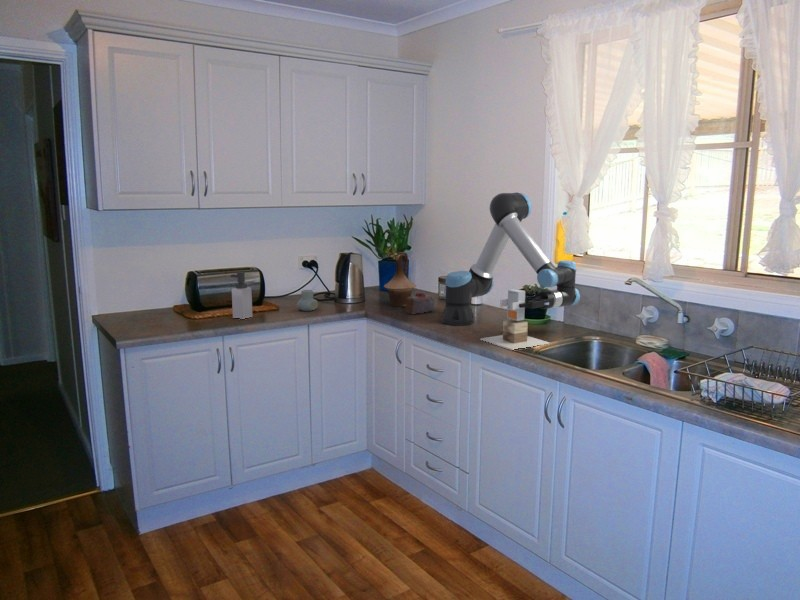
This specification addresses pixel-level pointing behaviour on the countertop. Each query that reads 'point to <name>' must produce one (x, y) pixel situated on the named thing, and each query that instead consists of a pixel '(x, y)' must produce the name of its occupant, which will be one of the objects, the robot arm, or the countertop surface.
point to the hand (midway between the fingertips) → (506, 304)
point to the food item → (419, 303)
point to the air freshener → (307, 301)
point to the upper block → (515, 326)
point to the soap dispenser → (241, 298)
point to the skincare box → (515, 296)
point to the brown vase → (400, 282)
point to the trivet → (511, 346)
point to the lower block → (515, 337)
